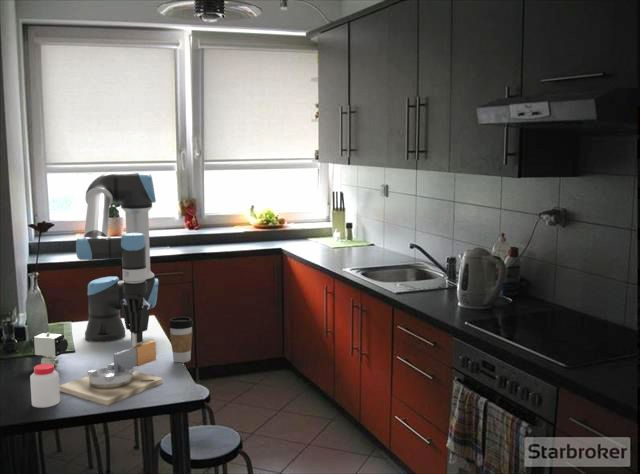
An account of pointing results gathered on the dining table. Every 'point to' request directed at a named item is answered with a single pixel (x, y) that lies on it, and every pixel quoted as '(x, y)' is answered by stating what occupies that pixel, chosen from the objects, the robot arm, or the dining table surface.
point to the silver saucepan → (123, 366)
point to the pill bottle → (45, 386)
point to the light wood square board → (112, 394)
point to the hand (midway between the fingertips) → (137, 351)
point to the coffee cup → (181, 338)
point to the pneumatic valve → (49, 347)
